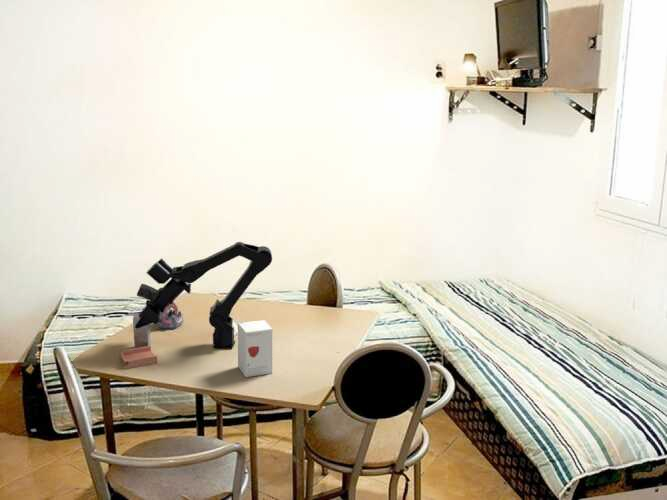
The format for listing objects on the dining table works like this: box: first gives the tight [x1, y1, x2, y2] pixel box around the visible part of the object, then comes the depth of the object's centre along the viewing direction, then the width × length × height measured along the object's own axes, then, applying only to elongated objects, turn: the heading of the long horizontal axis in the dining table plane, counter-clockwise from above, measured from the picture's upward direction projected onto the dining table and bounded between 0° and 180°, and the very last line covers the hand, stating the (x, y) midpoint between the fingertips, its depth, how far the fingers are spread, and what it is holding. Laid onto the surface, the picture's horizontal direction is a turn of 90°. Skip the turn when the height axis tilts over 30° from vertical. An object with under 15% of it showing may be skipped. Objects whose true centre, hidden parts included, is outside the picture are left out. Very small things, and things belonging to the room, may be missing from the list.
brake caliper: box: [156, 301, 184, 330], centre depth 234 cm, size 11×11×12 cm
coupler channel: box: [119, 345, 158, 370], centre depth 203 cm, size 10×10×2 cm
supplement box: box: [237, 319, 273, 378], centre depth 196 cm, size 9×9×15 cm
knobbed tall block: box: [132, 311, 152, 349], centre depth 211 cm, size 4×5×13 cm
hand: (137, 324), depth 211 cm, fingers closed on knobbed tall block, 5 cm apart
